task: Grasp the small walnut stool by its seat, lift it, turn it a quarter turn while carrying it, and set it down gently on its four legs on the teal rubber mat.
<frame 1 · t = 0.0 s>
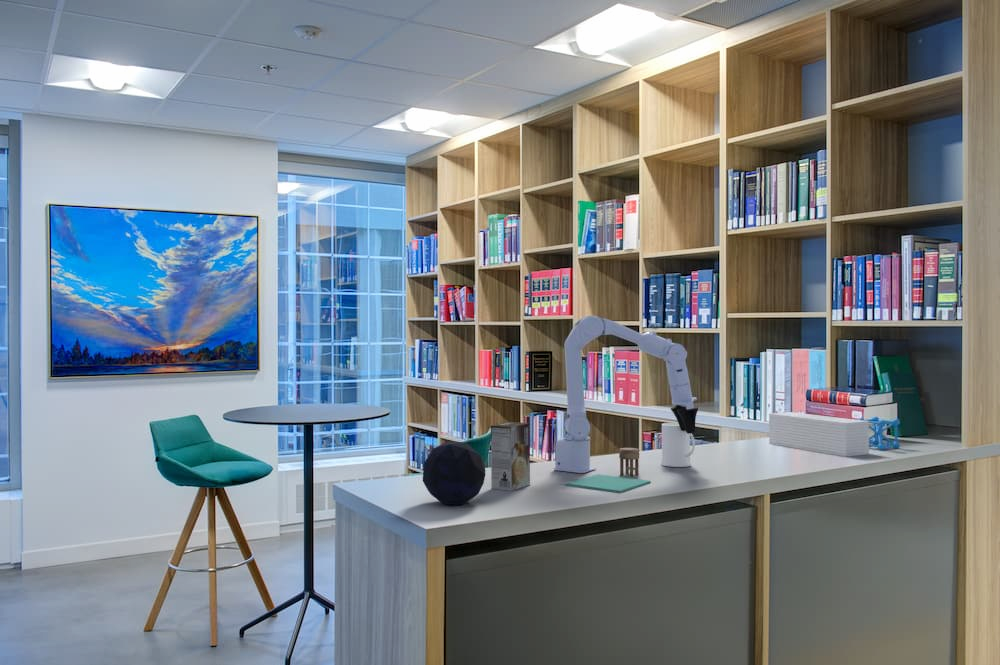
hand: (688, 431, 225), 11 cm above the worktop, tool pointing down, fingers open, 5 cm apart
molecular structure: (878, 448, 265), on the worktop
coffee box: (510, 487, 201), on the worktop
walnut stool: (629, 474, 217), on the worktop
mug: (679, 466, 231), on the worktop, touching gripper
stack of papers: (816, 449, 264), on the worktop
decorative orb: (454, 504, 182), on the worktop
teal mat: (608, 484, 204), on the worktop
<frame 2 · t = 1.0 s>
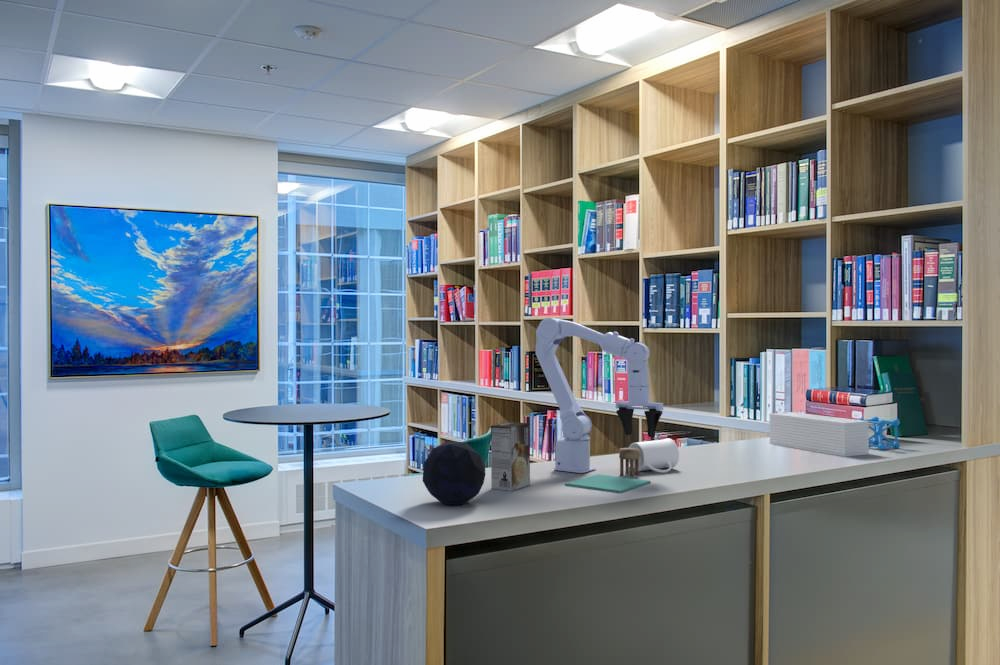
hand: (639, 435, 217), 11 cm above the worktop, tool pointing down, fingers open, 7 cm apart
mug: (673, 456, 227), point 3 cm above the worktop
everything else where it was.
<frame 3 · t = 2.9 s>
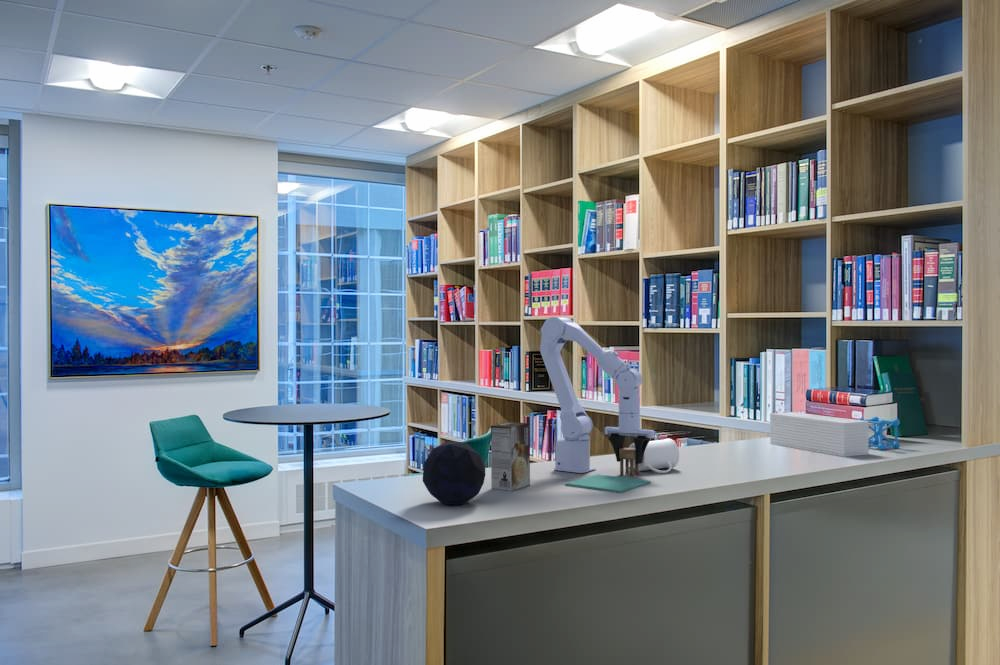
hand: (629, 462, 217), 3 cm above the worktop, tool pointing down, fingers closed on walnut stool, 5 cm apart
walnut stool: (629, 474, 217), on the worktop, touching gripper
everything else where it was.
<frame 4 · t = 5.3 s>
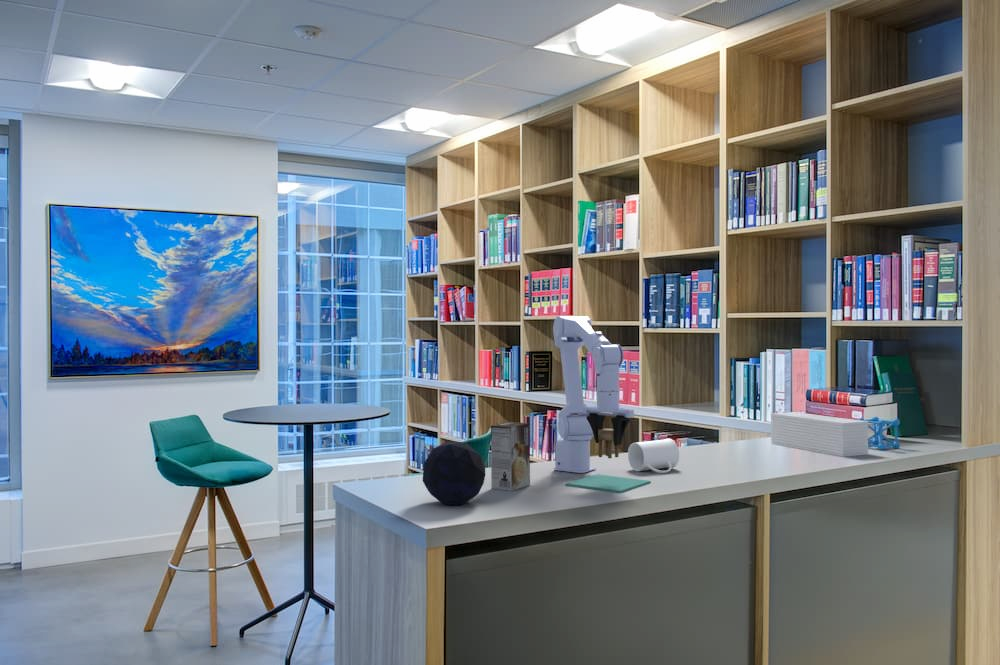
hand: (608, 443, 204), 10 cm above the worktop, tool pointing down, fingers closed on walnut stool, 5 cm apart
walnut stool: (608, 456, 204), point 7 cm above the worktop, touching gripper
everything else where it was.
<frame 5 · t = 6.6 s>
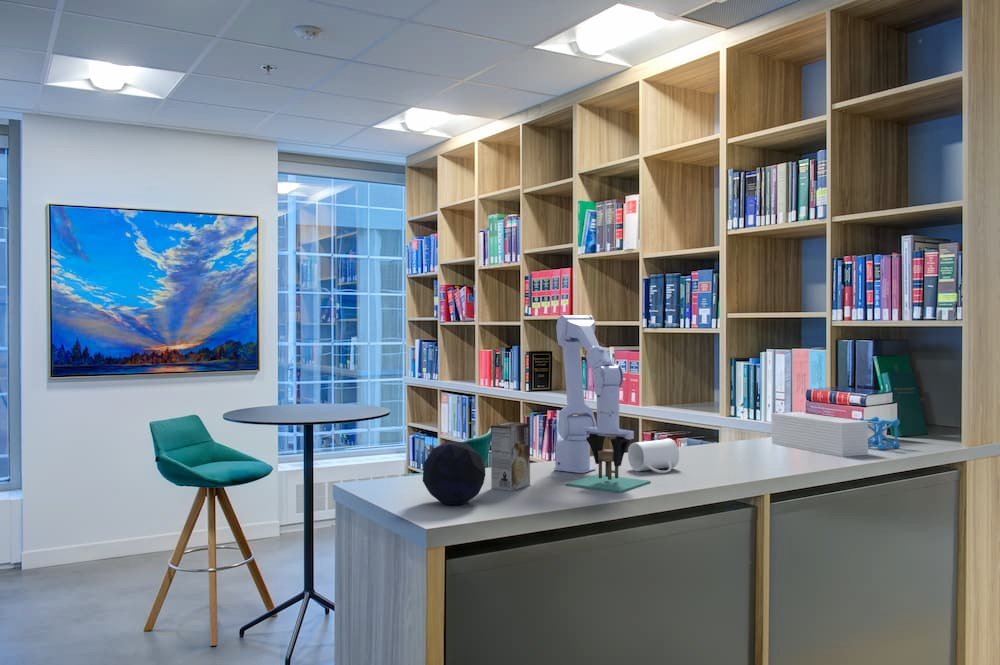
hand: (608, 464, 204), 5 cm above the worktop, tool pointing down, fingers closed on walnut stool, 5 cm apart
walnut stool: (608, 477, 204), point 2 cm above the worktop, touching gripper
everything else where it was.
when the fingers open (5 cm above the worktop, at t = 7.6 s): walnut stool stays where it is, resting on teal mat.
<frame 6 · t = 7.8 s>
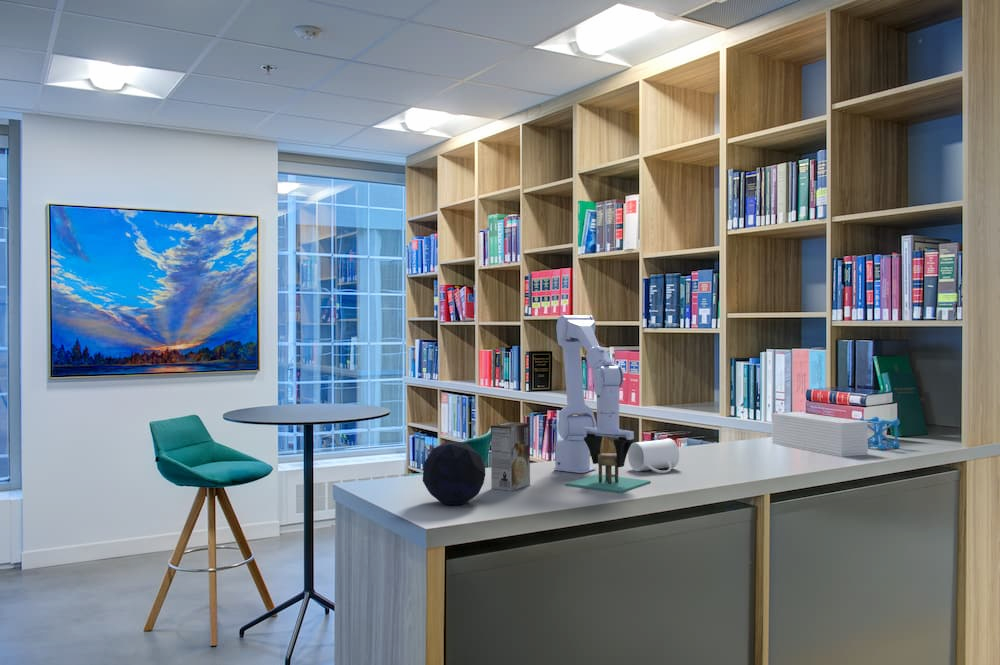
hand: (608, 465, 204), 5 cm above the worktop, tool pointing down, fingers open, 7 cm apart
walnut stool: (608, 482, 204), resting on teal mat
everything else where it was.
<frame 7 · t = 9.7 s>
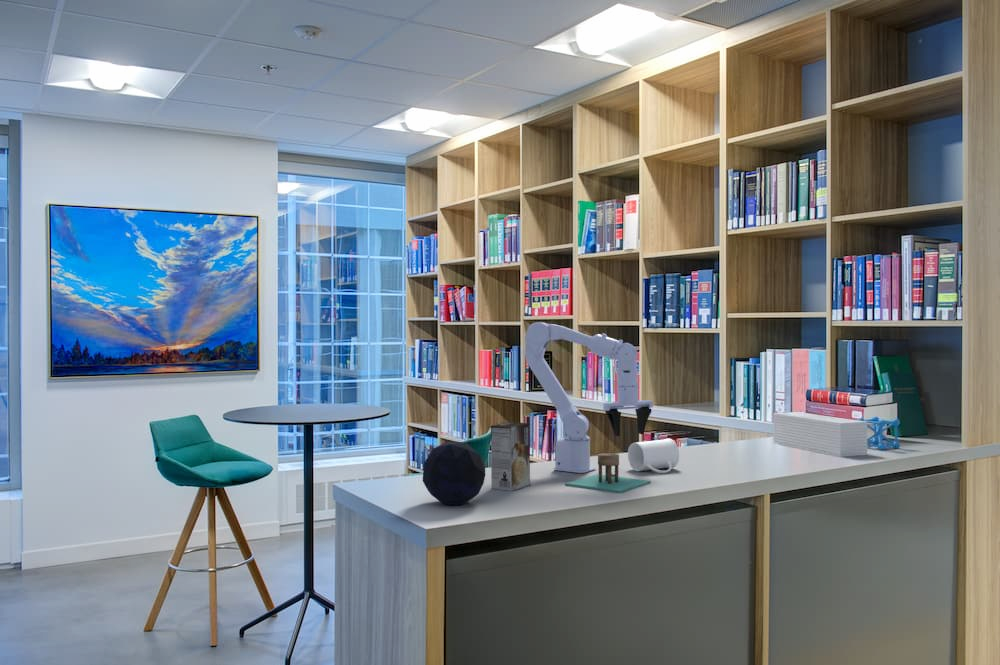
hand: (629, 434, 221), 10 cm above the worktop, tool pointing down, fingers open, 7 cm apart
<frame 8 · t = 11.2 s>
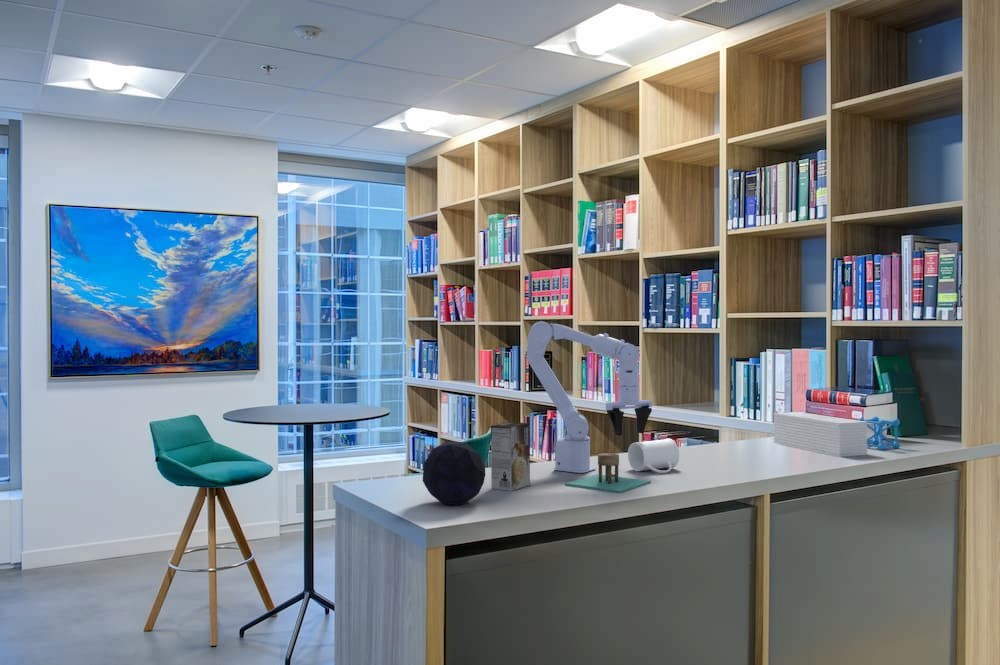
hand: (629, 434, 223), 10 cm above the worktop, tool pointing down, fingers open, 7 cm apart
at the end: walnut stool inside the target area on the teal mat (0.1 cm from its centre), point 0.5 cm above the teal mat's base; walnut stool tilted 0°; the gripper is holding nothing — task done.
